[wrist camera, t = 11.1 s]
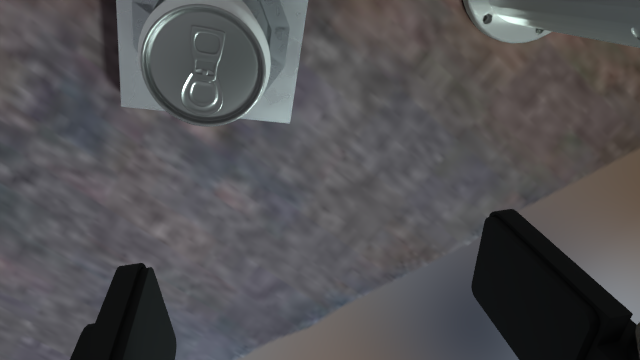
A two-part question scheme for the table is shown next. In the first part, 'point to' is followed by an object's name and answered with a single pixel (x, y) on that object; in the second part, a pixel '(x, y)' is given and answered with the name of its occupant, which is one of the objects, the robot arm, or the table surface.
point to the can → (204, 60)
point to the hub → (280, 32)
